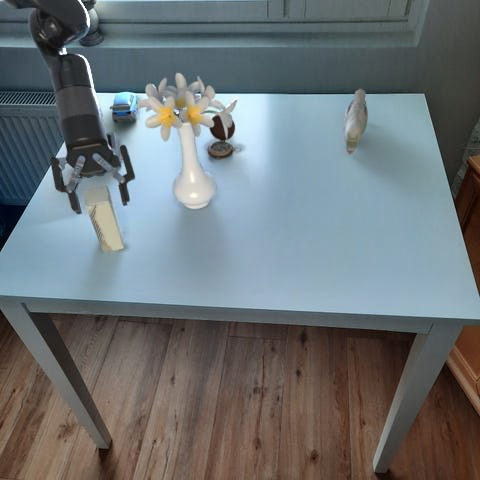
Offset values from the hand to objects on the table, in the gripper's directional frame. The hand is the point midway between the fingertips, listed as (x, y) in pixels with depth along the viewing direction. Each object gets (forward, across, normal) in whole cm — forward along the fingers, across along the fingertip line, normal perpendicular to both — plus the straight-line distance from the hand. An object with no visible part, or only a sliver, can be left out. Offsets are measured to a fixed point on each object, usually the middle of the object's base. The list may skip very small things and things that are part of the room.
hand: (102, 209), depth 87 cm
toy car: (-28, +7, +41) cm, 50 cm away
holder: (-15, -1, +28) cm, 31 cm away
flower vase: (0, +19, +13) cm, 23 cm away
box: (+7, 0, +6) cm, 9 cm away
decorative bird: (-9, +59, +22) cm, 64 cm away
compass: (-11, +28, +24) cm, 39 cm away
